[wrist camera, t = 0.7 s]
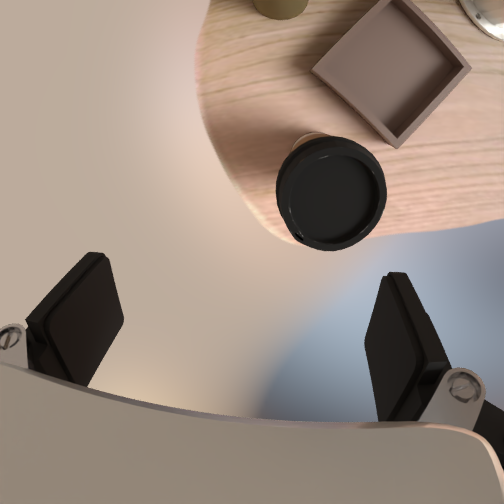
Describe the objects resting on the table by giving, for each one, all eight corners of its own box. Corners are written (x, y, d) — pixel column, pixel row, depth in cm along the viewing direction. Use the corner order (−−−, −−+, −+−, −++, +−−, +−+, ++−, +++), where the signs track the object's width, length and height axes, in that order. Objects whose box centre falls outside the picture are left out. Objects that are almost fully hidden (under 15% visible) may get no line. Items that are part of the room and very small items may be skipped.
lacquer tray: (387, -7, 24) (395, -14, 21) (459, 68, 27) (472, 68, 24) (309, 70, 30) (311, 68, 27) (388, 144, 33) (397, 149, 30)
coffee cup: (263, 159, 35) (248, 204, 22) (315, 105, 32) (336, 114, 18) (316, 207, 37) (332, 277, 24) (368, 158, 34) (416, 203, 21)
